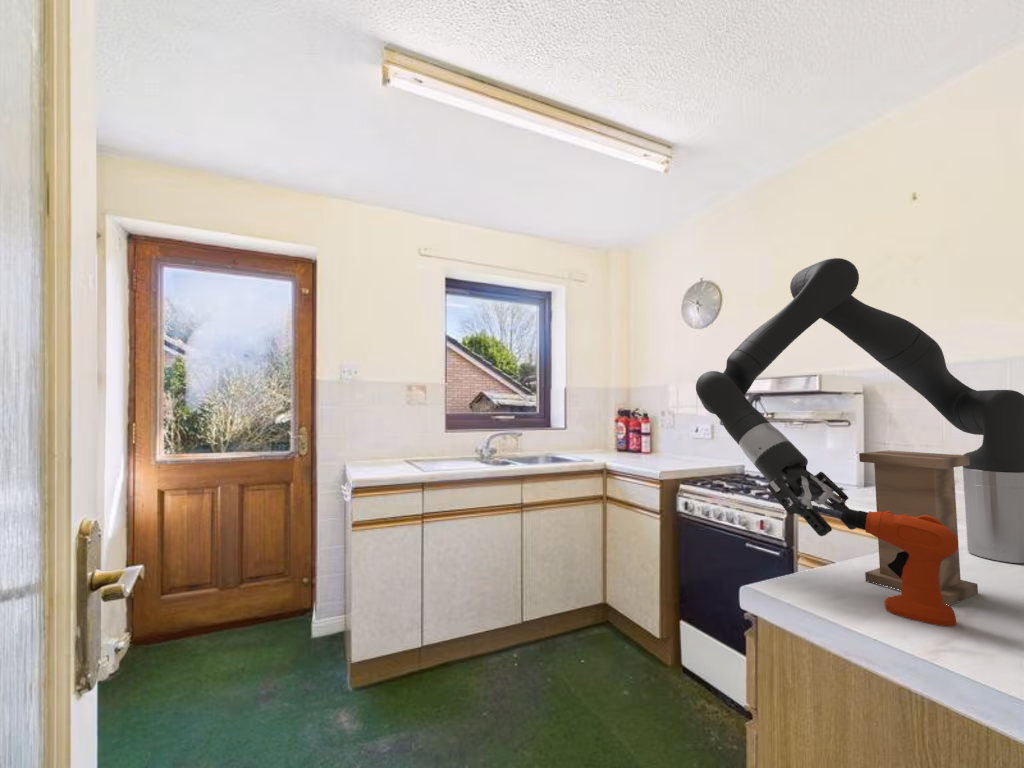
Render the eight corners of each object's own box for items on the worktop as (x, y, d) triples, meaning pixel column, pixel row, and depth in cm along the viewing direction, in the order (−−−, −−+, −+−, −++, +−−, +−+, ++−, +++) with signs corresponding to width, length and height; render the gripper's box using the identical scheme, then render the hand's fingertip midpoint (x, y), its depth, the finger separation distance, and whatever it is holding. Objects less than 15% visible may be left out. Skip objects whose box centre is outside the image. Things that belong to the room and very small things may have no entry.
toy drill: (804, 573, 78) (813, 487, 77) (956, 625, 64) (969, 521, 63) (795, 580, 74) (804, 491, 74) (953, 637, 60) (966, 527, 60)
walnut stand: (895, 571, 82) (888, 450, 83) (978, 593, 72) (969, 455, 73) (865, 581, 78) (859, 453, 79) (949, 606, 68) (940, 459, 69)
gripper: (759, 441, 78) (834, 522, 67) (808, 438, 85) (884, 512, 74) (733, 468, 83) (799, 548, 72) (782, 463, 89) (849, 536, 78)
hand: (842, 530), depth 73 cm, fingers open, 8 cm apart
